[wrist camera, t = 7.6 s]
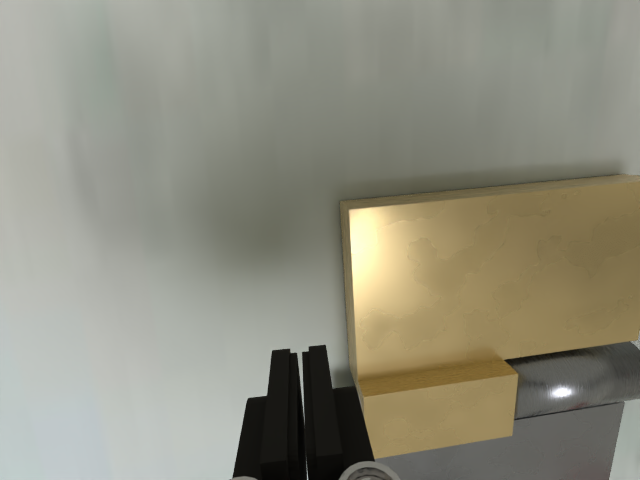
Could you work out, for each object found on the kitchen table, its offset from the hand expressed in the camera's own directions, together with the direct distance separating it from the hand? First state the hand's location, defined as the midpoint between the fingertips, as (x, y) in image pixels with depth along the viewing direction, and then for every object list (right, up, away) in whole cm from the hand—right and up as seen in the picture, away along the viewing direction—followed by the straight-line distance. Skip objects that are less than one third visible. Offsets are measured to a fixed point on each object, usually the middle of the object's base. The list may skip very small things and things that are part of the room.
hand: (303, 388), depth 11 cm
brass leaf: (+10, +1, +10) cm, 14 cm away
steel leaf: (+10, -8, +12) cm, 18 cm away
